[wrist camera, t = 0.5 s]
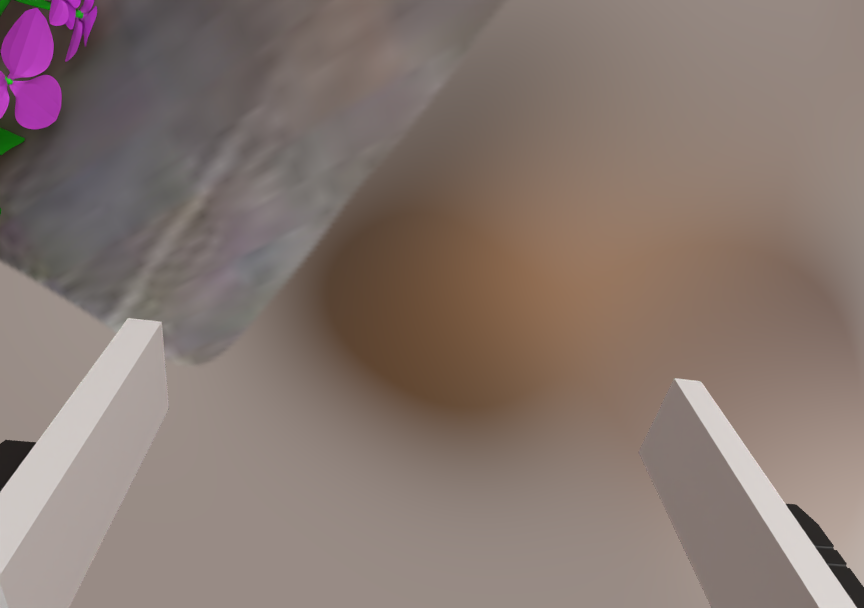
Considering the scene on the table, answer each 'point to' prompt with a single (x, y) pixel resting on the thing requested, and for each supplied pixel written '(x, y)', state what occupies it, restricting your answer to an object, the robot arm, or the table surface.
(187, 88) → the table surface
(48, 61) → the potted plant
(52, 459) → the robot arm
